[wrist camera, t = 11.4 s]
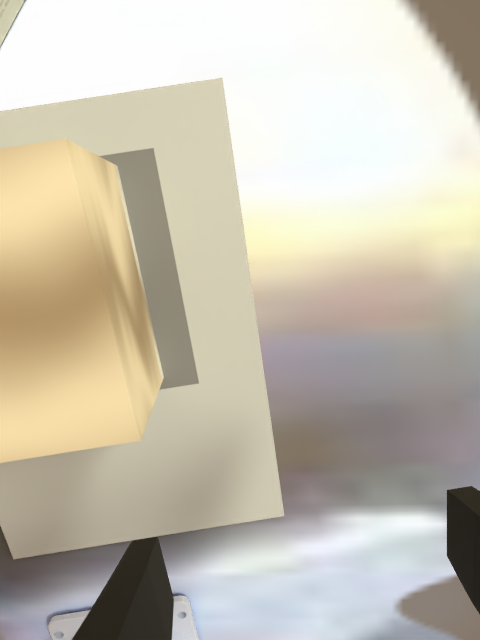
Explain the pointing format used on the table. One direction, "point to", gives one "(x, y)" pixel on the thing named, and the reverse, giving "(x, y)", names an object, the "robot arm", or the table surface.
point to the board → (162, 336)
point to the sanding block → (70, 306)
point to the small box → (8, 15)
